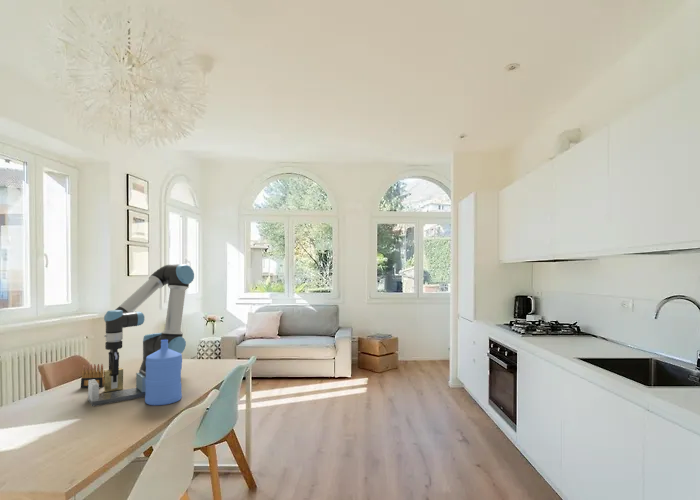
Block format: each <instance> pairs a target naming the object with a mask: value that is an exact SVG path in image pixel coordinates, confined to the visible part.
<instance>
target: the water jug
mask: <svg viewBox="0 0 700 500" xmlns="http://www.w3.org/2000/svg"><path fill="white" fill-rule="evenodd" d="M182 355H183V354H182V353H179V352H176V351H173V350H171V349H169V348H168V340H161V349H160V350H158V351H156V352H154V353H152V354H150V355H148V356H147V357H146V379H145V385H146V391H145V397H144V402H145V404H147V405H149V406H167V405H170V404H174V403H177V402H178V401H181V399H182V397H183V395H182V366H183V356H182Z"/></svg>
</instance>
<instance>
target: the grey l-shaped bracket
mask: <svg viewBox="0 0 700 500" xmlns="http://www.w3.org/2000/svg"><path fill="white" fill-rule="evenodd" d="M87 390H88V391H87V392H88V393H87V401H88V402H89V404H90V406H91V407H97V406H102V405H108V404H112V403H118V402H119V403H120V402H124V401H130V400H135V399H140V398H145V392H141V391H140V390H139V389H138V388H136V387H133V388H126V389H120V390H114V391H109V392H102V393H100V392H99V391H100V388H99V384H98V383H97V381H96V380H95V379H92V380H88V388H87Z"/></svg>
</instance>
